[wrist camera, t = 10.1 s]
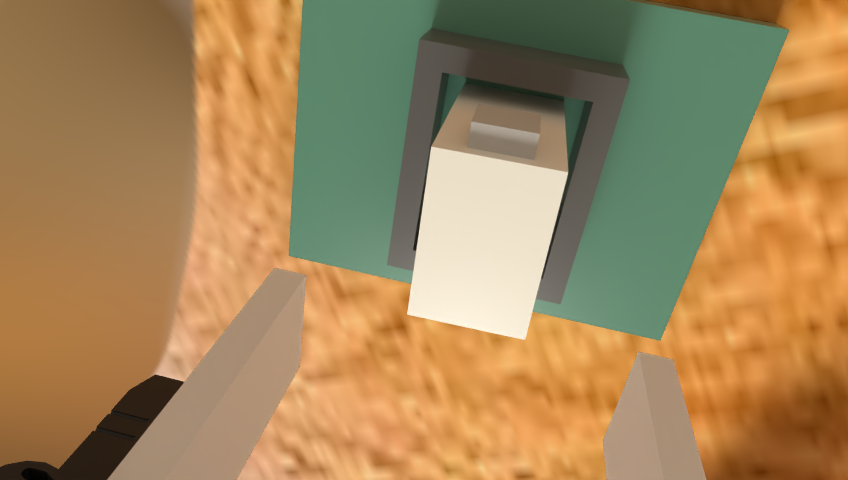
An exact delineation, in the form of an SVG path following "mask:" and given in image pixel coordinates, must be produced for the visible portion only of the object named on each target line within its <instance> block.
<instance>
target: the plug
mask: <svg viewBox="0 0 848 480" xmlns="http://www.w3.org/2000/svg"><path fill="white" fill-rule="evenodd" d="M567 176H568V159H567V143H566V128H565V112H564V101H563V100H557V99H552V98H546V97H540V96H535V95H529V94H524V93H518V92H512V91H507V90H501V89H495V88H490V87H484V86H478V85H473V84H467V83H464V85H463V87H462V89H461V91H460V93H459V95H458V97H457V99H456V101H455V102H454V104H453V106H452V108H451V110H450V112H449V114H448V116H447V118H446V120H445V121H444V123H443V125H442V127H441V129H440V131H439V133H438V135H437V137H436V139H435V141H434V142H433V144H432V146H431V152H430V159H429V166H428V173H427V180H426V187H425V194H424V201H423V208H422V215H421V222H420V229H419V236H418V243H417V250H416V257H415V264H414V271H413V277H412V284H411V291H410V298H409V305H408V312H407V315H412V316H416V317H421V318H426V319H430V320H435V321H440V322H444V323H449V324H454V325H458V326H463V327H468V328H472V329H477V330H482V331H486V332H491V333H495V334H500V335H505V336H509V337H514V338H519V339H523V340H525V338H526V334H527V330H528V326H529V323H530V319H531V315H532V311H533V307H534V303H535V299H536V295H537V292H538V288H539V284H540V280H541V276H542V272H543V268H544V265H545V261H546V257H547V253H548V249H549V245H550V241H551V237H552V234H553V230H554V226H555V222H556V218H557V214H558V210H559V207H560V203H561V199H562V195H563V191H564V187H565V183H566V180H567Z"/></svg>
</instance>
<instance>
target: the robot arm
mask: <svg viewBox="0 0 848 480" xmlns="http://www.w3.org/2000/svg"><path fill="white" fill-rule="evenodd" d="M305 286H306V275H305V274H300V273H296V272H292V271H287V270H283V269H279V268H274V269H273V271H272V272H271V273H270V274H269V276H268V277H267V278H266V279H265V281H264V282H263V283H262V285H261V286H260V287H259V288H258V290H257V291H256V292H255V293H254V295H253V296H252V297H251V298H250V300H249V301H248V302H247V304H246V305H245V306H244V307H243V309H242V310H241V311H240V312H239V314H238V315H237V316H236V317H235V319H234V320H233V321H232V322H231V324H230V325H229V326H228V328H227V329H226V330H225V331H224V333H223V334H222V335H221V336H220V338H219V339H218V340H217V341H216V343H215V344H214V345H213V347H212V348H211V349H210V350H209V352H208V353H207V354H206V355H205V357H204V358H203V359H202V360H201V362H200V363H199V364H198V365H197V367H196V368H195V369H194V371H193V372H192V373H191V374H190V376H189V377H188V378H187V379H186V381H185V382H183V381H179V380H175V379H171V378H167V377H163V376H159V375H154V376H152V377H150V378H149V379H147V380H145V381H144V382H142V383H140V384H139V385H137V386H135V387H133V388H132V389H130V390H129V391H128V392H127V393H126V395H125V396H124V397H123V398H122V399H121V400H120V401H119V402H118V403H117V405H116V406H115V407H114V408H113V409H112V411H111V414H108V415H107V416H106V417H105V418H104V419H103V420H102V421H101V422H100V424H99V425H98V426H97V429H96V431H92V432H91V434H90V435H89V436H88V437H87V438H86V439H85V441H83V443H82V444H81V445H80V446H79V447H78V448H77V449H76V450H75V452H74V453H73V454H72V455H71V456H70V457H69V458H68V459H67V461H66V462H65V463H64V464H63V465H62V466H61V467H60V468H59V469H57V468H55V467H53V466H51V465H49V464H47V463H45V462H34V461H24V462H18V463H12V464H7V465H4V466H2V467H0V480H236V479H237V478H238V476H239V474H240V472H241V470H242V469H243V467H244V465H245V463H246V461H247V460H248V458H249V456H250V454H251V453H252V451H253V449H254V447H255V445H256V444H257V442H258V440H259V438H260V437H261V435H262V433H263V431H264V429H265V428H266V426H267V424H268V422H269V420H270V419H271V417H272V415H273V413H274V412H275V410H276V408H277V406H278V404H279V403H280V401H281V399H282V397H283V396H284V394H285V392H286V390H287V388H288V387H289V385H290V383H291V381H292V380H293V378H294V376H295V374H296V372H297V371H298V369H299V367H300V356H301V342H302V328H303V314H304V300H305ZM603 447H604V457H605V467H606V477H607V480H706V477H705V473H704V469H703V466H702V462H701V458H700V455H699V451H698V447H697V444H696V440H695V437H694V433H693V429H692V426H691V422H690V418H689V415H688V411H687V407H686V404H685V400H684V396H683V393H682V389H681V385H680V382H679V378H678V375H677V371H676V367H675V364H674V360H673V359H669V358H664V357H660V356H656V355H651V354H647V353H643V352H638V354H637V356H636V359H635V362H634V364H633V367H632V369H631V372H630V374H629V377H628V379H627V382H626V384H625V387H624V389H623V392H622V394H621V397H620V399H619V402H618V404H617V407H616V409H615V412H614V414H613V417H612V419H611V422H610V424H609V427H608V429H607V432H606V434H605V437H604V439H603Z"/></svg>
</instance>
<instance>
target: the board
mask: <svg viewBox="0 0 848 480" xmlns="http://www.w3.org/2000/svg"><path fill="white" fill-rule="evenodd" d="M788 32H789V30H788V29H786V28H784V27H782V26H780V25H778V24H775V23H770V22H764V21H759V20H753V19H748V18H742V17H737V16H731V15H726V14H720V13H715V12H709V11H704V10H698V9H693V8H687V7H682V6H676V5H671V4H665V3H660V2H654V1H649V0H303V8H302V26H301V44H300V62H299V80H298V99H297V117H296V135H295V153H294V171H293V189H292V207H291V225H290V243H289V256H292V257H296V258H301V259H305V260H309V261H314V262H318V263H323V264H327V265H331V266H336V267H340V268H344V269H349V270H353V271H358V272H362V273H366V274H371V275H375V276H379V277H384V278H388V279H393V280H397V281H401V282H406V283H410V284H412V277H413V271H414V264H415V257H416V250H417V243H418V236H419V229H420V222H421V215H422V208H423V201H424V194H425V187H426V180H427V173H428V166H429V159H430V152H431V146H432V144H433V142H434V141H435V139H436V137H437V135H438V133H439V131H440V129H441V127H442V125H443V123H444V121H445V120H446V118H447V116H448V114H449V112H450V110H451V108H452V106H453V104H454V102H455V101H456V99H457V97H458V95H459V93H460V91H461V89H462V87H463V85H464V83H467V84H473V85H478V86H484V87H490V88H495V89H501V90H507V91H512V92H518V93H524V94H529V95H535V96H540V97H546V98H552V99H557V100H563V101H564V112H565V128H566V143H567V159H568V176H567V180H566V183H565V187H564V191H563V195H562V199H561V203H560V207H559V210H558V214H557V218H556V222H555V226H554V230H553V234H552V237H551V241H550V245H549V249H548V253H547V257H546V261H545V265H544V268H543V272H542V276H541V280H540V284H539V288H538V292H537V295H536V299H535V303H534V307H533V312H537V313H541V314H546V315H550V316H555V317H559V318H563V319H568V320H572V321H576V322H581V323H585V324H590V325H594V326H598V327H603V328H607V329H611V330H616V331H620V332H625V333H629V334H633V335H638V336H642V337H646V338H651V339H655V340H661V338H662V335H663V333H664V330H665V328H666V326H667V323H668V321H669V318H670V316H671V314H672V311H673V309H674V306H675V304H676V302H677V299H678V297H679V294H680V292H681V290H682V287H683V285H684V282H685V280H686V278H687V275H688V273H689V270H690V268H691V266H692V263H693V261H694V258H695V256H696V253H697V251H698V249H699V246H700V244H701V241H702V239H703V237H704V234H705V232H706V229H707V227H708V225H709V222H710V220H711V217H712V215H713V213H714V210H715V208H716V205H717V203H718V201H719V198H720V196H721V193H722V191H723V188H724V186H725V184H726V181H727V179H728V176H729V174H730V172H731V169H732V167H733V164H734V162H735V160H736V157H737V155H738V152H739V150H740V148H741V145H742V143H743V140H744V138H745V136H746V133H747V131H748V128H749V126H750V123H751V121H752V119H753V116H754V114H755V111H756V109H757V107H758V104H759V102H760V99H761V97H762V95H763V92H764V90H765V87H766V85H767V83H768V80H769V78H770V75H771V73H772V71H773V68H774V66H775V63H776V61H777V59H778V56H779V54H780V51H781V49H782V46H783V44H784V42H785V39H786V37H787V34H788Z"/></svg>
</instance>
